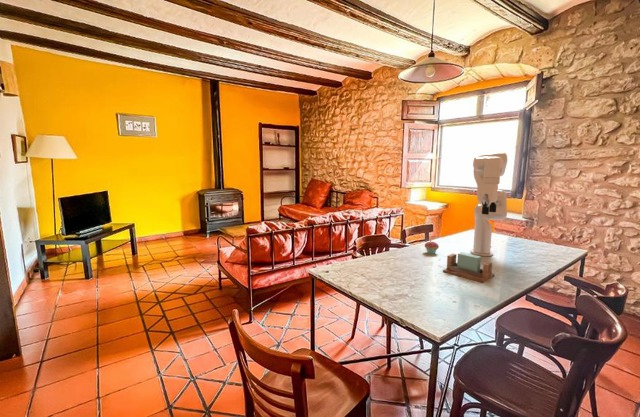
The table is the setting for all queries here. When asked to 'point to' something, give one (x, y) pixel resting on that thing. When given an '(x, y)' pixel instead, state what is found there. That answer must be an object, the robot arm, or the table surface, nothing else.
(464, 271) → the brown wooden holder
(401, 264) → the table surface
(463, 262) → the door panel
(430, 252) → the cupcake
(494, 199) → the robot arm
